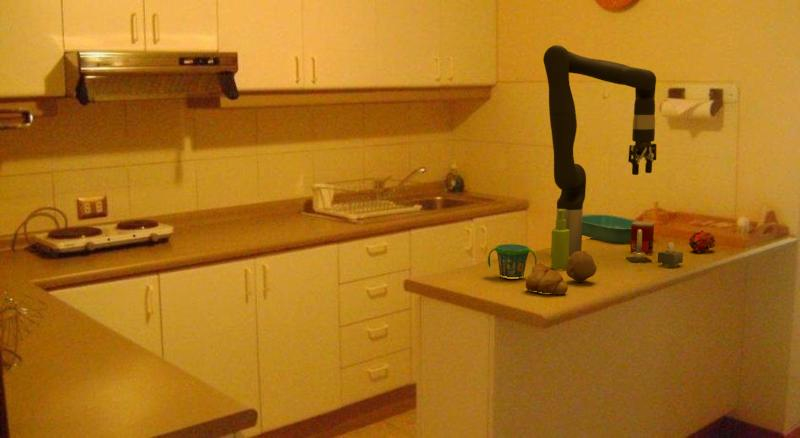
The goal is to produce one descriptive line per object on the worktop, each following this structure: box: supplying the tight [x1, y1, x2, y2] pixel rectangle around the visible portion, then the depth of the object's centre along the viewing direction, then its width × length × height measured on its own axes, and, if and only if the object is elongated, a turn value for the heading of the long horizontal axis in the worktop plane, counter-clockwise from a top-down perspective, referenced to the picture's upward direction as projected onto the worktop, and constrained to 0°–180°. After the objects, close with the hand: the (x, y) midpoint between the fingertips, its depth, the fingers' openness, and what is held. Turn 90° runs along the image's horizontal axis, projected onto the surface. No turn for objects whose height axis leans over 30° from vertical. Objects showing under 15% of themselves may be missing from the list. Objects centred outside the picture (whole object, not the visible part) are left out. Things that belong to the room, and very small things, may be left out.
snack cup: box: [487, 243, 538, 277], centre depth 272 cm, size 16×10×10 cm
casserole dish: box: [582, 213, 640, 245], centre depth 345 cm, size 37×22×7 cm, turn 26°
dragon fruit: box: [688, 230, 716, 254], centre depth 313 cm, size 8×8×12 cm
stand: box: [625, 230, 653, 264], centre depth 297 cm, size 7×7×11 cm
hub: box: [661, 241, 679, 268], centre depth 289 cm, size 5×5×8 cm
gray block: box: [657, 249, 684, 265], centre depth 289 cm, size 6×6×4 cm
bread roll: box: [525, 263, 569, 295], centre depth 253 cm, size 13×10×8 cm
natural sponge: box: [565, 250, 598, 283], centre depth 266 cm, size 9×9×10 cm
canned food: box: [629, 220, 655, 255], centre depth 312 cm, size 8×8×11 cm
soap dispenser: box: [550, 209, 570, 270], centre depth 286 cm, size 6×7×20 cm
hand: (641, 173), depth 299 cm, fingers open, 8 cm apart
